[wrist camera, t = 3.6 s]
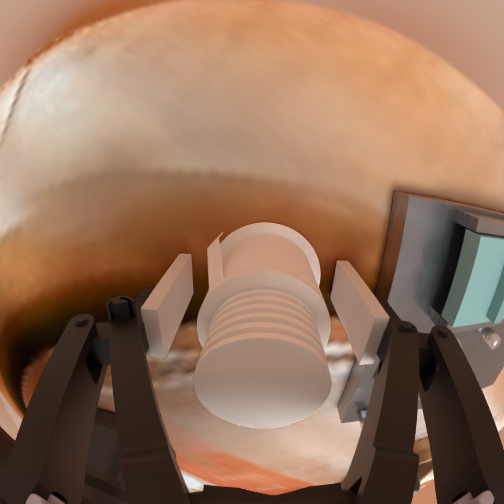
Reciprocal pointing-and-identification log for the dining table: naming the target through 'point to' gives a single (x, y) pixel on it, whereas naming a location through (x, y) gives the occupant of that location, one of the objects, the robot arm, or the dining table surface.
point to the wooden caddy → (422, 458)
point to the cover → (477, 282)
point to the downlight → (263, 329)
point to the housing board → (428, 286)
